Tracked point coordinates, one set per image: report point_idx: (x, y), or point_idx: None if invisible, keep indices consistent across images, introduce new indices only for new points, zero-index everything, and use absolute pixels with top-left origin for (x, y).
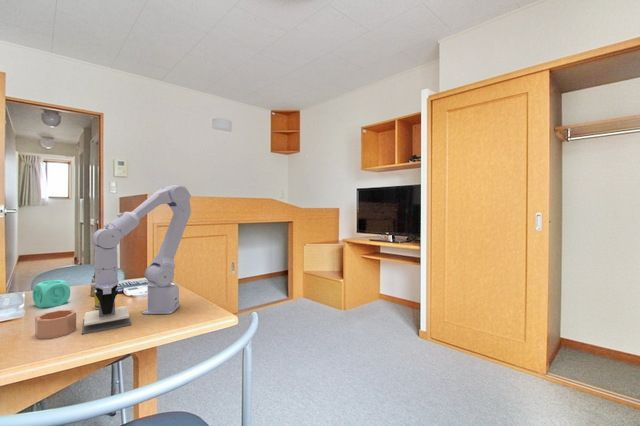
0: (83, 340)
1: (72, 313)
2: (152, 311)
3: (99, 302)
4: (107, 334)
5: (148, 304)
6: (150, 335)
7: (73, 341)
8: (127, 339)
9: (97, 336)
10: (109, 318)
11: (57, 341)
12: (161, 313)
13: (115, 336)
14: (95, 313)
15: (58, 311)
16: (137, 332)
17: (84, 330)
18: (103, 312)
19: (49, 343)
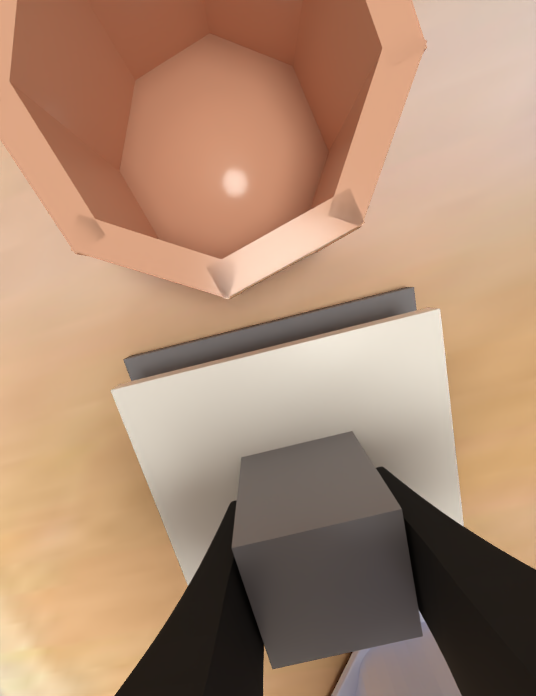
0: (30, 394)
1: (201, 267)
2: (370, 655)
3: (387, 517)
4: (99, 492)
5: (420, 692)
6: (39, 669)
7: (24, 343)
8: (5, 593)
9: (79, 450)
10: (187, 531)
11: (42, 243)
12: (339, 680)
13: (59, 535)
14: (361, 404)
15: (372, 34)
16: (93, 615)
17: (166, 364)
18: (226, 520)
19: (15, 202)
